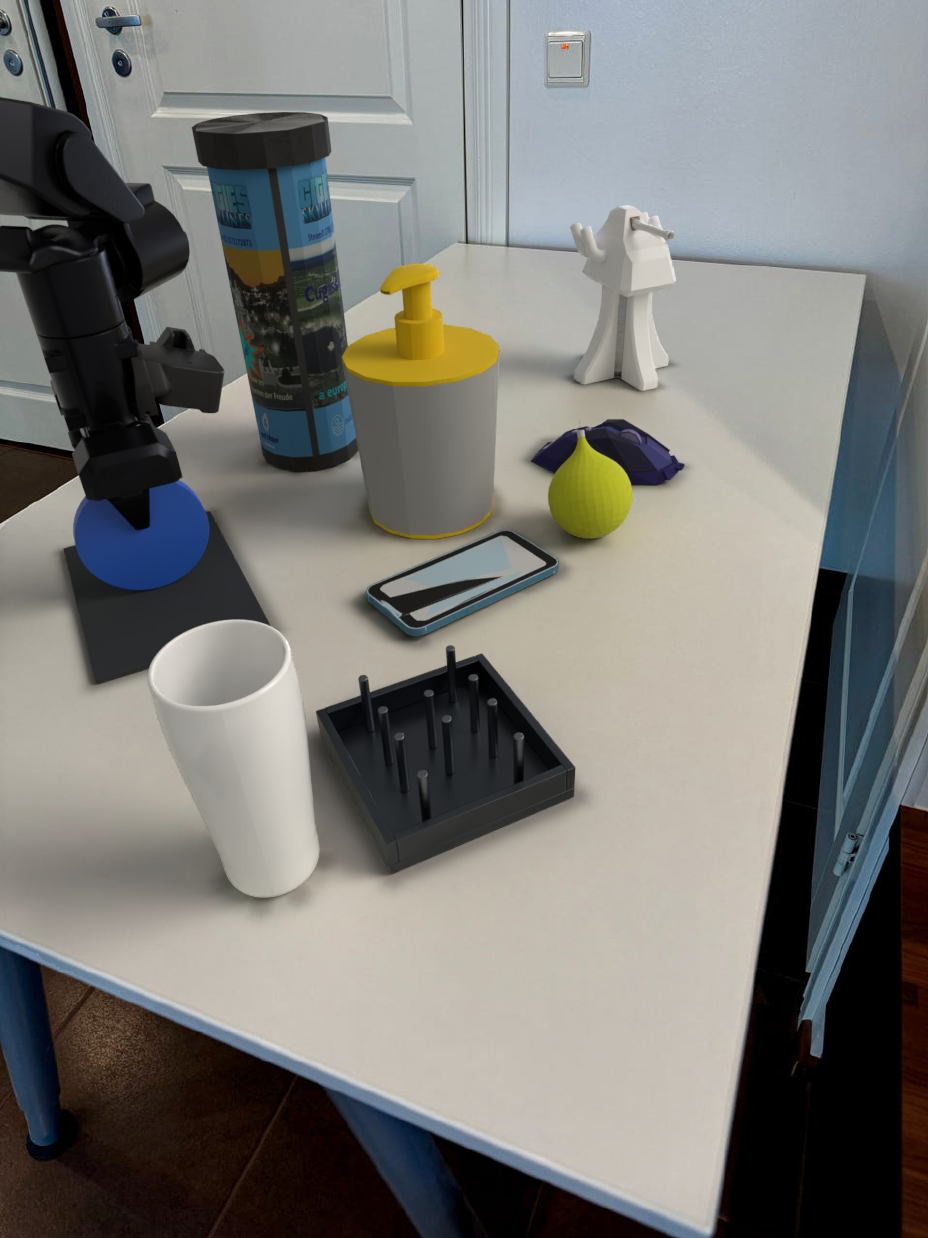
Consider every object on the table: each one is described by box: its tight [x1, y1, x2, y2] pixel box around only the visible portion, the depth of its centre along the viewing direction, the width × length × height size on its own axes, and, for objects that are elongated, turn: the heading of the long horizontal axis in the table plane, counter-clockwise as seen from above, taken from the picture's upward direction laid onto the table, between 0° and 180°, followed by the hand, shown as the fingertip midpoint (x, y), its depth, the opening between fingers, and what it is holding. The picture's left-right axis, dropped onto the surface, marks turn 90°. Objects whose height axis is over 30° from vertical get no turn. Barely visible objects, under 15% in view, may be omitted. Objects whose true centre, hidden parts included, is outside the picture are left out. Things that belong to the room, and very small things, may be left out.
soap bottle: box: [342, 263, 501, 540], centre depth 75 cm, size 13×13×21 cm
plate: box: [72, 479, 209, 590], centre depth 69 cm, size 1×10×10 cm, turn 117°
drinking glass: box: [146, 619, 321, 899], centre depth 45 cm, size 7×7×15 cm
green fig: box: [547, 421, 634, 539], centre depth 74 cm, size 7×7×10 cm
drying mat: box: [63, 510, 272, 685], centre depth 72 cm, size 13×20×1 cm, turn 26°
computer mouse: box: [531, 418, 686, 486], centre depth 86 cm, size 9×15×4 cm, turn 64°
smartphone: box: [365, 529, 560, 637], centre depth 70 cm, size 7×1×15 cm
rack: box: [315, 644, 576, 875], centre depth 54 cm, size 12×12×5 cm
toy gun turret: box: [570, 204, 677, 392], centre depth 99 cm, size 12×13×18 cm
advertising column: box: [191, 111, 359, 473], centre depth 82 cm, size 11×11×30 cm
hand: (141, 523), depth 68 cm, fingers closed on plate, 1 cm apart
